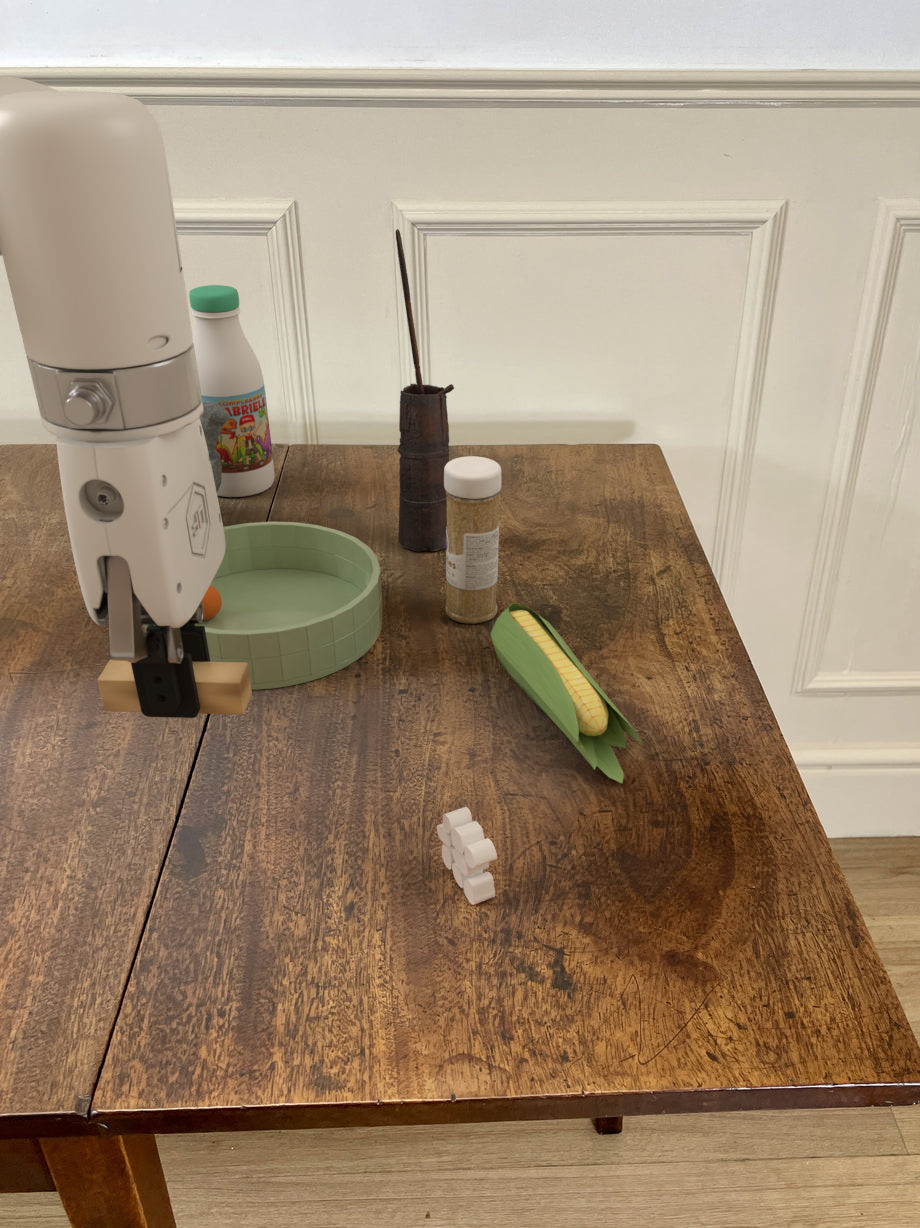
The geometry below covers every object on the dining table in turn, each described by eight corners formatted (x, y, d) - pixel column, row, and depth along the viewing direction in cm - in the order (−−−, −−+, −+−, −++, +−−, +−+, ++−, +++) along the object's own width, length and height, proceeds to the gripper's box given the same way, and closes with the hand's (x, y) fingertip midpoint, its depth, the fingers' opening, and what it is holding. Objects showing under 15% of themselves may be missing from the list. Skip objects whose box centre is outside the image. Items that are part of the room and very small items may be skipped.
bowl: (113, 686, 79) (101, 630, 76) (183, 568, 95) (174, 518, 92) (367, 693, 79) (363, 637, 76) (393, 574, 95) (391, 524, 92)
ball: (210, 584, 87) (211, 573, 85) (227, 615, 87) (228, 605, 84) (177, 598, 86) (177, 587, 84) (194, 630, 86) (194, 620, 83)
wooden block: (252, 693, 61) (247, 661, 60) (244, 714, 59) (239, 683, 58) (116, 690, 61) (109, 659, 60) (104, 711, 59) (96, 680, 58)
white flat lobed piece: (496, 901, 61) (497, 845, 59) (474, 909, 61) (475, 853, 58) (457, 849, 65) (457, 794, 62) (437, 857, 64) (436, 802, 62)
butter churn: (492, 524, 104) (497, 223, 89) (473, 566, 96) (475, 245, 81) (403, 515, 105) (393, 217, 90) (377, 556, 98) (361, 238, 82)
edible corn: (534, 637, 86) (536, 589, 84) (655, 779, 71) (662, 726, 68) (476, 649, 84) (477, 600, 82) (588, 798, 69) (592, 743, 67)
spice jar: (440, 602, 90) (438, 456, 83) (491, 597, 92) (493, 452, 84) (451, 629, 87) (450, 478, 79) (504, 623, 88) (508, 473, 80)
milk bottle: (185, 487, 110) (154, 290, 99) (240, 465, 115) (216, 276, 104) (236, 505, 106) (209, 303, 95) (290, 482, 112) (271, 288, 100)
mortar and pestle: (122, 550, 97) (97, 426, 91) (127, 509, 105) (104, 392, 98) (245, 539, 100) (230, 418, 93) (241, 500, 107) (226, 385, 101)
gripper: (146, 448, 43) (209, 789, 54) (235, 341, 57) (271, 631, 67) (-33, 444, 43) (63, 786, 54) (97, 338, 57) (155, 628, 67)
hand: (178, 697), depth 60 cm, fingers closed on wooden block, 2 cm apart
